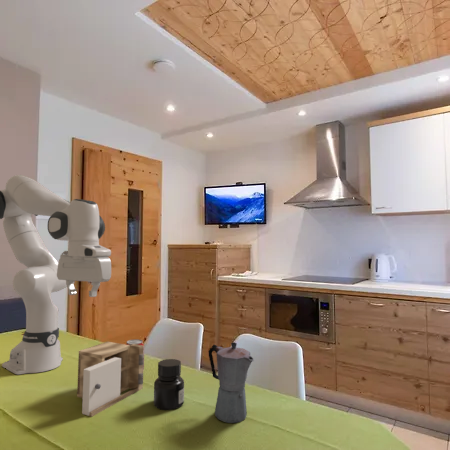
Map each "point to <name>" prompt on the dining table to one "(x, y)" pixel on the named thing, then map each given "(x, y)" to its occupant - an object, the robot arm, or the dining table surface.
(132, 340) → the soda can
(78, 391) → the cabinet
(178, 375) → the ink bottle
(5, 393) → the dining table surface
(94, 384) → the door
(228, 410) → the moka pot
